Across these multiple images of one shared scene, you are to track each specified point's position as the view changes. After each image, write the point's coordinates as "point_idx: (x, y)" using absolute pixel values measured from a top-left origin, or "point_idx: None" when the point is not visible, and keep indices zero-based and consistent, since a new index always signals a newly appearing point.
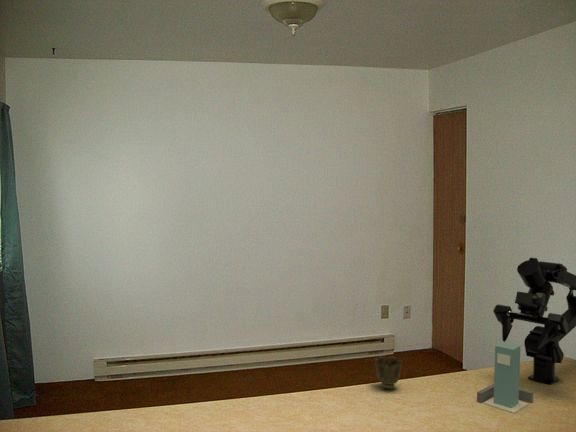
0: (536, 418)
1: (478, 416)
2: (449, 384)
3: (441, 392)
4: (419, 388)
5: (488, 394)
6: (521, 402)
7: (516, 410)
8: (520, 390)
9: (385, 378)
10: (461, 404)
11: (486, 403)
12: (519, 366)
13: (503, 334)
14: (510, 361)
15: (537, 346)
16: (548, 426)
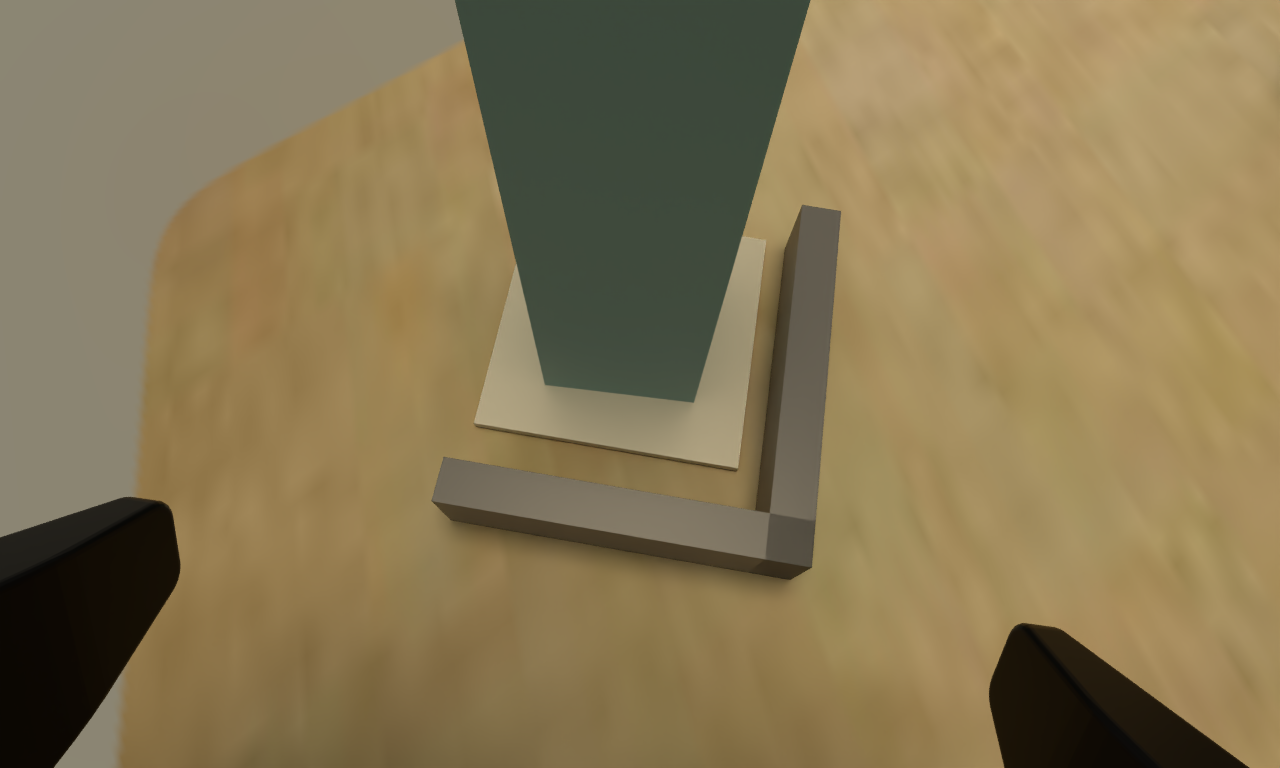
0: (384, 217)
1: None
2: (1170, 469)
3: (1100, 264)
4: (1259, 240)
5: (781, 335)
6: (527, 415)
7: None
8: (549, 476)
9: None
10: (877, 150)
11: (744, 238)
12: (503, 190)
13: (1155, 722)
14: None
15: (147, 502)
16: (299, 144)
